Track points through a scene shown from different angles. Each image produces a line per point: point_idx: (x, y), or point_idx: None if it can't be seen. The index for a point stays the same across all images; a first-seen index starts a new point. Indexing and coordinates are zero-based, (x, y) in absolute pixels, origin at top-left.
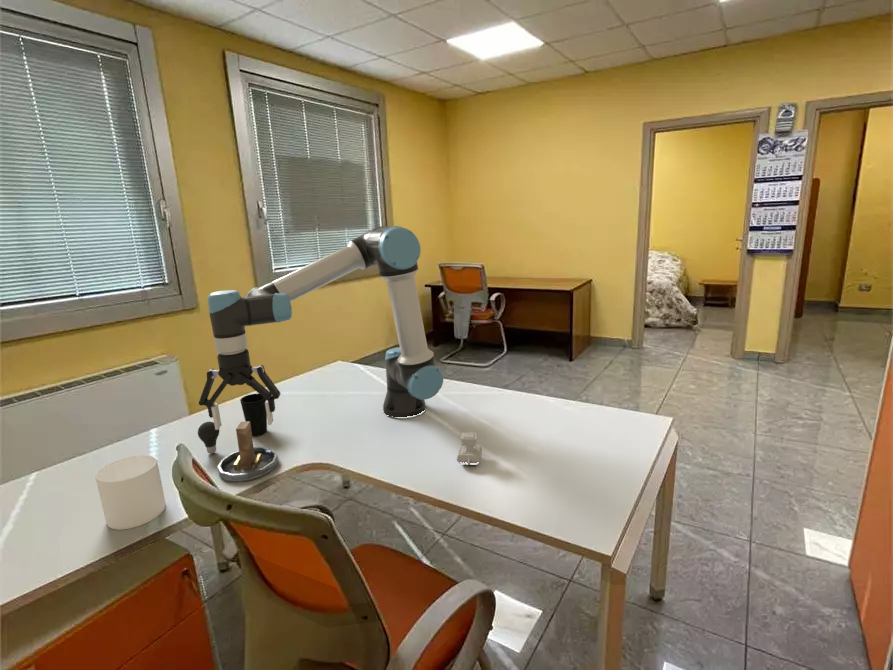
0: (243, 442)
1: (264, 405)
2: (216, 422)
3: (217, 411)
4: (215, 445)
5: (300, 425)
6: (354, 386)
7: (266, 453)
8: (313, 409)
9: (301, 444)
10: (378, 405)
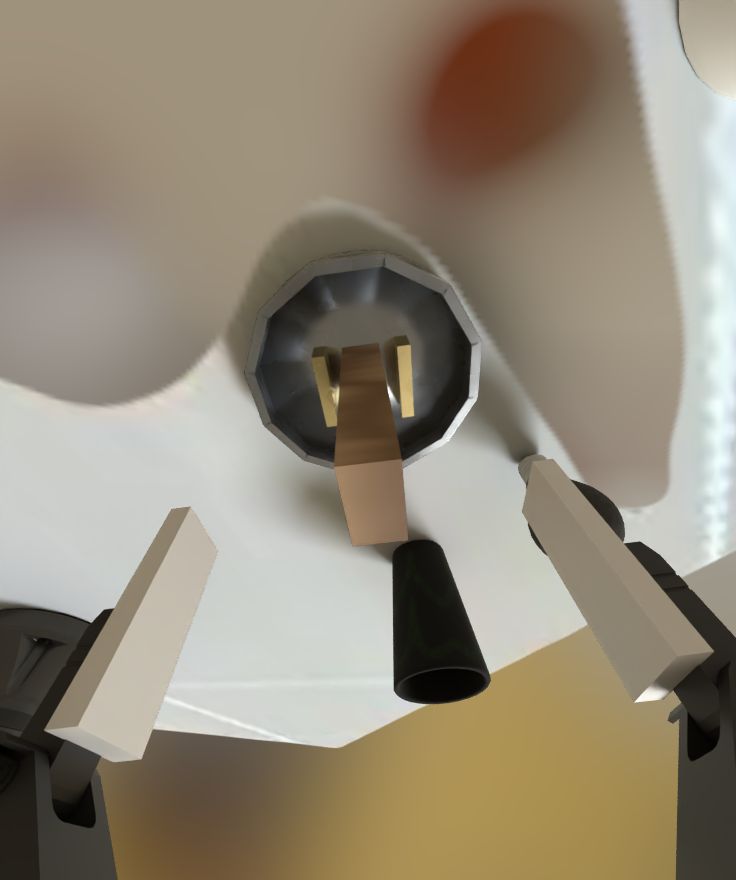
0: (359, 406)
1: (395, 652)
2: (567, 502)
3: (597, 604)
4: (526, 480)
5: (307, 583)
6: (260, 699)
7: (330, 448)
8: (310, 637)
9: (246, 502)
10: None
